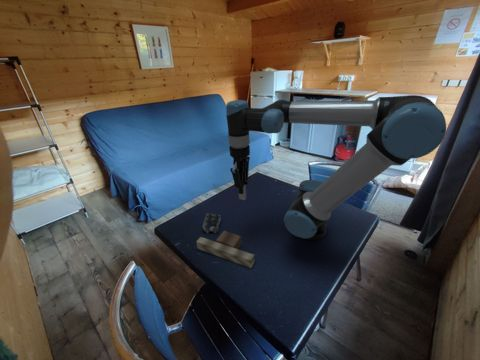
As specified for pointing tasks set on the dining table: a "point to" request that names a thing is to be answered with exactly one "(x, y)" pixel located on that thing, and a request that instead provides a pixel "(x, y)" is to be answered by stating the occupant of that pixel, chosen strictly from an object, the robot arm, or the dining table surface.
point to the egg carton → (213, 222)
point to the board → (225, 252)
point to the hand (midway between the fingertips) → (242, 198)
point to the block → (229, 239)
